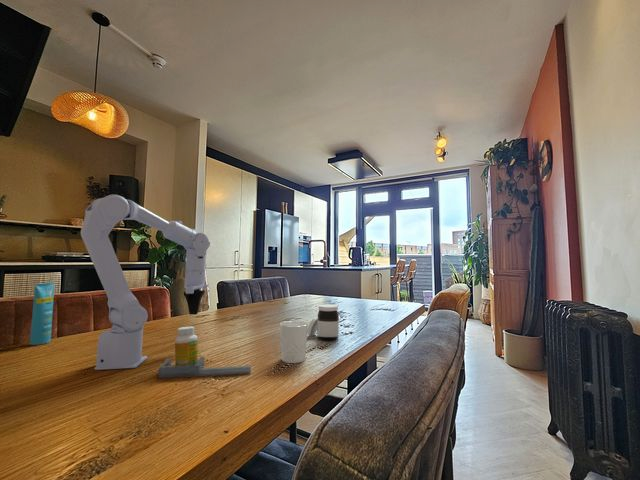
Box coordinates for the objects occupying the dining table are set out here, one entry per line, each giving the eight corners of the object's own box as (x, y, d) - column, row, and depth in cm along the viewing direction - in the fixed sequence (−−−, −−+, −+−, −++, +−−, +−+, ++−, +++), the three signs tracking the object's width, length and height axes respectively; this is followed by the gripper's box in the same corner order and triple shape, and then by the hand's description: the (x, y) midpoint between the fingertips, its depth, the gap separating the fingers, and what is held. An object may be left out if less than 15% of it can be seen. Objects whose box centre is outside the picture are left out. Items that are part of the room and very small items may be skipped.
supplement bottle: (191, 369, 74) (191, 329, 75) (171, 370, 74) (170, 330, 75) (201, 362, 79) (200, 325, 80) (182, 363, 80) (181, 326, 81)
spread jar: (339, 342, 101) (339, 308, 102) (306, 342, 101) (306, 307, 102) (337, 333, 113) (337, 303, 114) (307, 333, 113) (308, 302, 114)
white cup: (311, 357, 86) (312, 322, 86) (298, 366, 79) (299, 327, 79) (288, 353, 89) (289, 319, 90) (273, 361, 82) (274, 324, 82)
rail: (158, 378, 69) (158, 367, 69) (166, 368, 75) (167, 358, 76) (250, 373, 73) (250, 362, 73) (251, 363, 80) (251, 354, 80)
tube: (41, 346, 92) (45, 283, 93) (22, 346, 91) (27, 283, 92) (56, 339, 99) (60, 281, 100) (39, 340, 98) (44, 281, 99)
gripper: (204, 272, 88) (202, 318, 87) (212, 269, 102) (210, 309, 101) (178, 271, 86) (176, 319, 85) (190, 269, 100) (188, 310, 100)
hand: (193, 314), depth 93 cm, fingers closed
